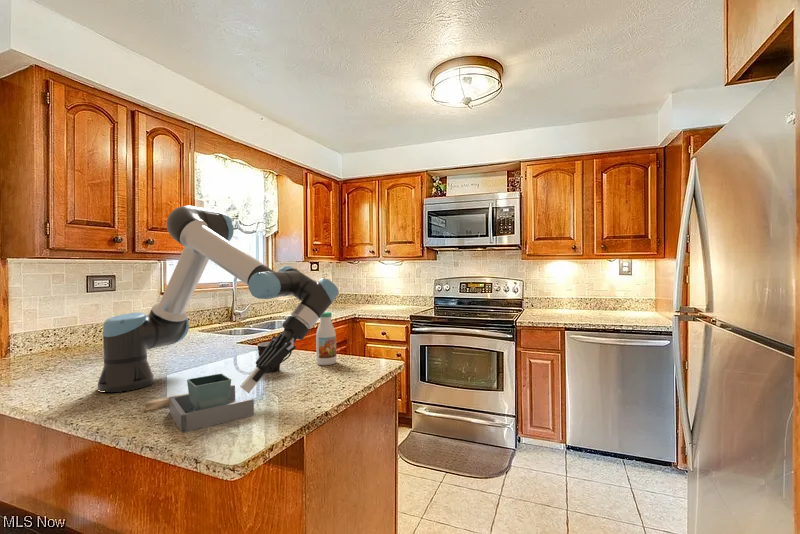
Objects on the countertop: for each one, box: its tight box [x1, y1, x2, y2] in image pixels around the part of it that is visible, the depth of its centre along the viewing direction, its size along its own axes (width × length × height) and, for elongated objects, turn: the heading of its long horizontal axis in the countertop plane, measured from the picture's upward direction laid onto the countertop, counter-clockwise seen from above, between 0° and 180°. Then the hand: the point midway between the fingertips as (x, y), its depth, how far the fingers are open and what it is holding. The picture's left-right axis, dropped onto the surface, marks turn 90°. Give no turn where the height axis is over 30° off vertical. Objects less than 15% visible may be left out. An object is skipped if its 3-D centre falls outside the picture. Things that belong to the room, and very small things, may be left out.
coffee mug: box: [257, 341, 293, 374], centre depth 144 cm, size 12×9×10 cm
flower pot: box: [186, 373, 232, 411], centre depth 103 cm, size 9×9×9 cm
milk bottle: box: [315, 311, 338, 366], centre depth 154 cm, size 8×8×20 cm
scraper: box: [144, 392, 189, 411], centre depth 112 cm, size 15×8×2 cm, turn 129°
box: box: [168, 384, 255, 434], centre depth 103 cm, size 16×17×4 cm
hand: (244, 389), depth 108 cm, fingers closed
